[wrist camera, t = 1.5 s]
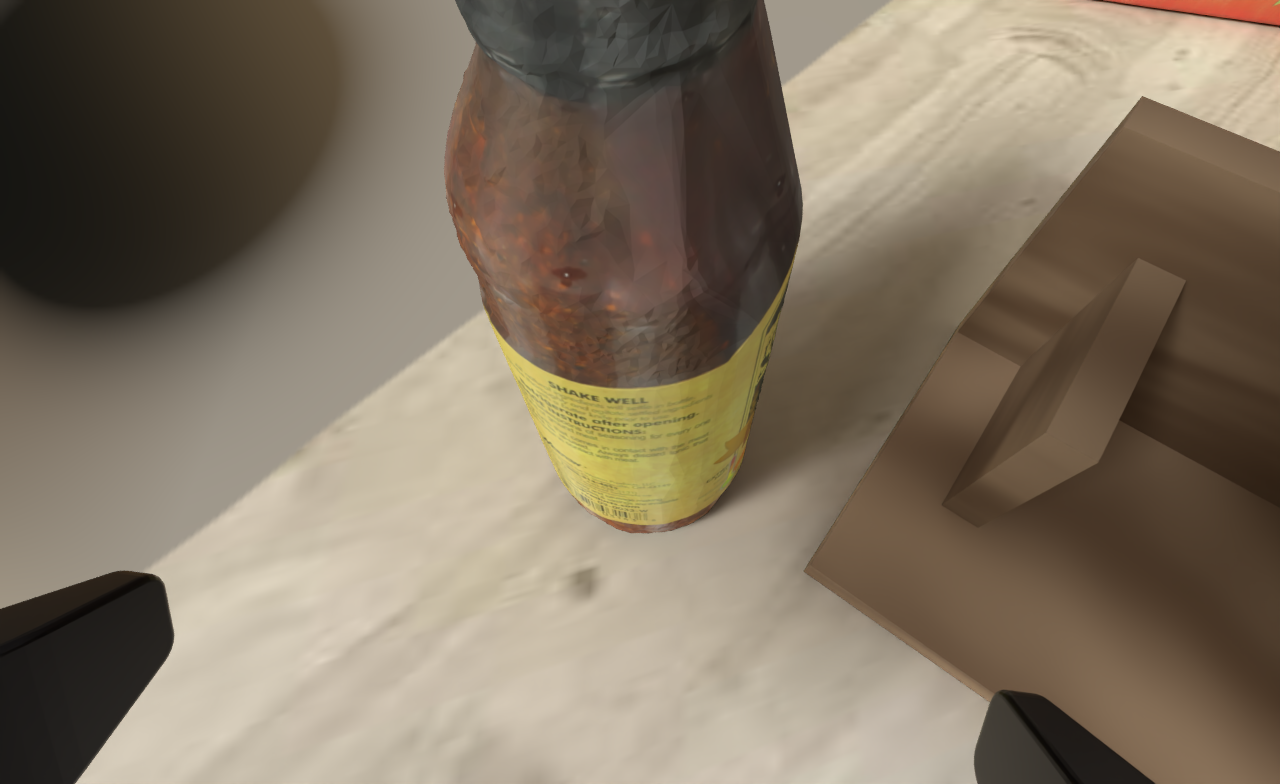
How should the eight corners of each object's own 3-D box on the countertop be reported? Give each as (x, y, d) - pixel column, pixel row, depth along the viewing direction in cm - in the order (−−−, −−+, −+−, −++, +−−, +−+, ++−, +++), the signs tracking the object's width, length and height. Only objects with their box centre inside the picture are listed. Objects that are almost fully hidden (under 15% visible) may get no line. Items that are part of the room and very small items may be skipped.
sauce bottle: (770, 497, 21) (1353, -552, 4) (593, 571, 21) (157, -323, 3) (688, 338, 24) (781, -718, 6) (528, 398, 23) (91, -637, 5)
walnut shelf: (1369, 968, 16) (2295, 1316, 7) (803, 571, 20) (920, 467, 11) (1455, 591, 20) (2130, 497, 11) (960, 323, 24) (1142, 96, 15)
